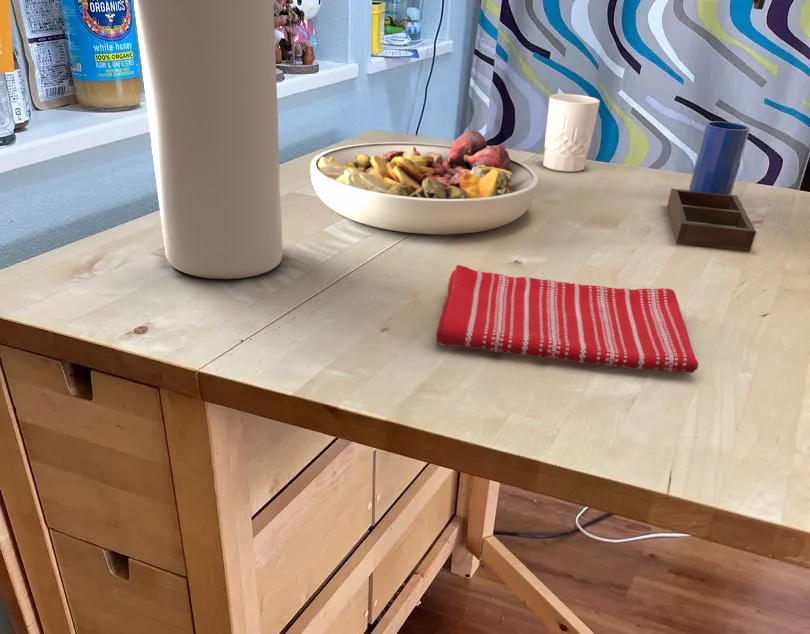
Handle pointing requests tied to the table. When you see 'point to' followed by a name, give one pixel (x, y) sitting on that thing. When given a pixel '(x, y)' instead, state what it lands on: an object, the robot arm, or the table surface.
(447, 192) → the bowl
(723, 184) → the cup
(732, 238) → the holder
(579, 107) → the white cup
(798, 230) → the table surface
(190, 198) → the cylinder vase
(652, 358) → the dish towel
